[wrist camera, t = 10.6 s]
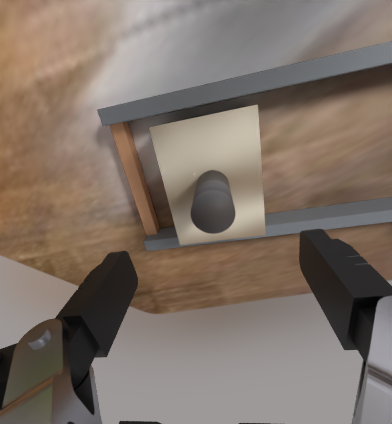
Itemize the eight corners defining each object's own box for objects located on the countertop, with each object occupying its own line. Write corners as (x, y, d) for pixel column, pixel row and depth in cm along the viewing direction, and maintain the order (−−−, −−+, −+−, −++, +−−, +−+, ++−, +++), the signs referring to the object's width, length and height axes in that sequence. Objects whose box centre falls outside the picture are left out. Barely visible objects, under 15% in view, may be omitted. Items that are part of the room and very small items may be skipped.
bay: (110, 110, 23) (85, 109, 19) (516, 16, 18) (621, -17, 13) (152, 238, 30) (142, 260, 26) (453, 200, 25) (506, 219, 20)
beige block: (163, 124, 23) (120, 133, 12) (246, 106, 22) (280, 99, 11) (186, 219, 28) (169, 287, 17) (254, 210, 27) (284, 276, 16)
